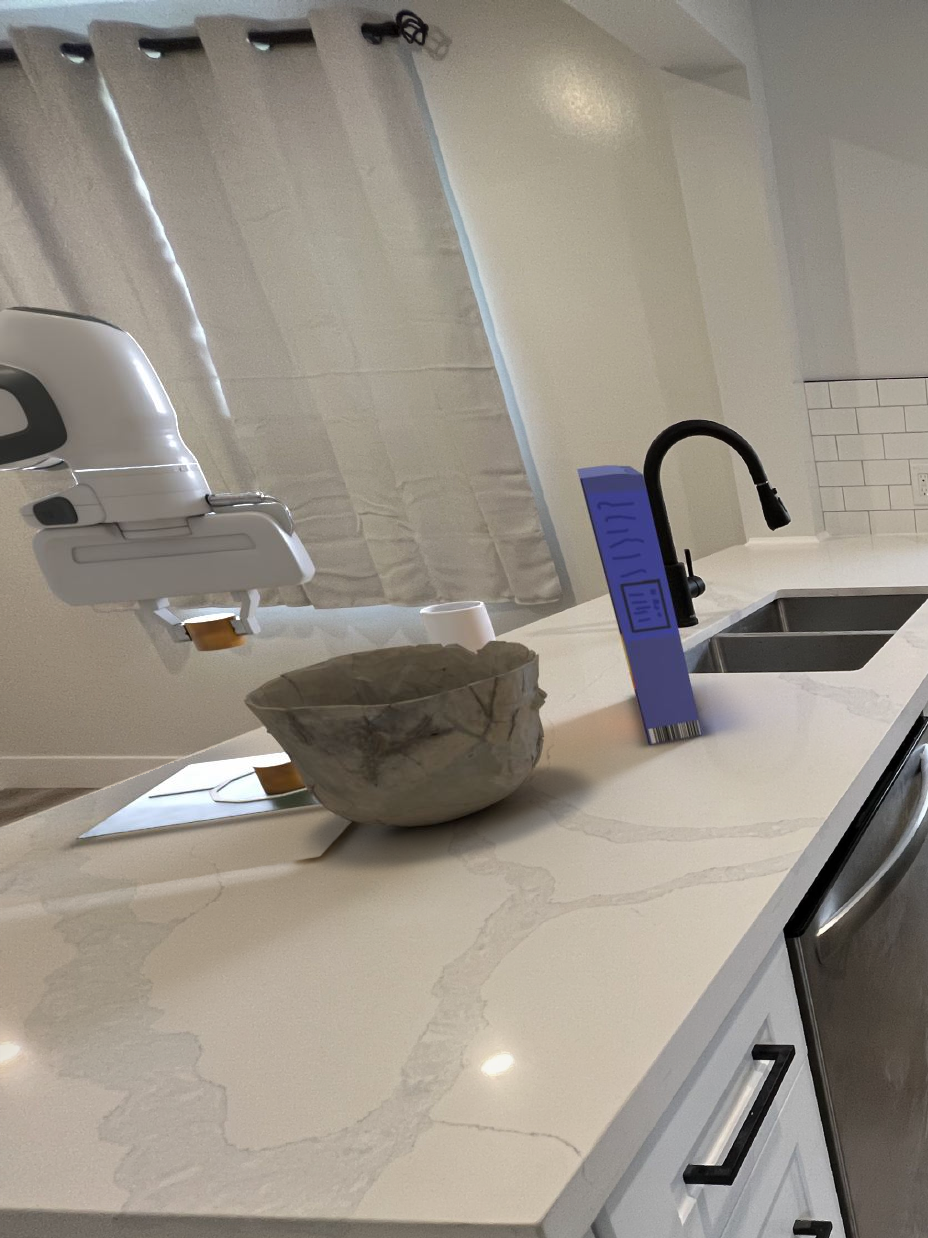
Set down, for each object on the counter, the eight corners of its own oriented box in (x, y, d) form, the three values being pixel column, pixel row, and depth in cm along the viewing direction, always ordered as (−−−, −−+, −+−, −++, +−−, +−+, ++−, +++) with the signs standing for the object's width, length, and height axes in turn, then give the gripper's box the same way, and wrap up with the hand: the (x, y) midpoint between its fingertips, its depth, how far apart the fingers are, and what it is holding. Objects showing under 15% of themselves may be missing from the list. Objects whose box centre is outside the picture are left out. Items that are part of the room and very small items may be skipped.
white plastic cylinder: (531, 718, 112) (495, 603, 106) (476, 734, 107) (435, 614, 100) (504, 710, 115) (468, 598, 109) (450, 725, 110) (408, 609, 104)
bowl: (608, 806, 85) (566, 660, 79) (338, 894, 71) (260, 724, 65) (533, 755, 99) (493, 627, 93) (295, 820, 85) (228, 674, 79)
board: (80, 848, 81) (74, 837, 80) (193, 772, 98) (189, 763, 98) (332, 810, 87) (328, 801, 86) (397, 745, 104) (394, 737, 104)
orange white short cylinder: (257, 796, 88) (244, 769, 87) (274, 782, 92) (262, 756, 91) (303, 789, 90) (291, 763, 88) (319, 776, 93) (307, 750, 92)
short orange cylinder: (189, 653, 88) (174, 624, 86) (209, 644, 91) (195, 616, 90) (236, 648, 89) (223, 619, 87) (254, 639, 92) (241, 611, 91)
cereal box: (636, 699, 118) (576, 466, 105) (682, 691, 120) (629, 463, 108) (649, 747, 100) (579, 475, 88) (703, 737, 103) (642, 472, 90)
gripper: (293, 487, 89) (347, 619, 95) (41, 504, 83) (115, 643, 89) (266, 492, 84) (324, 631, 90) (-6, 511, 78) (76, 658, 84)
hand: (218, 637), depth 89 cm, fingers closed on short orange cylinder, 4 cm apart
